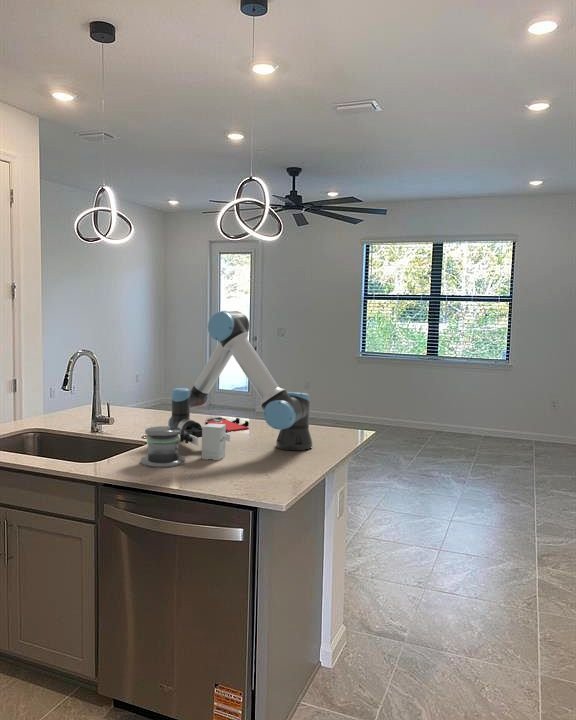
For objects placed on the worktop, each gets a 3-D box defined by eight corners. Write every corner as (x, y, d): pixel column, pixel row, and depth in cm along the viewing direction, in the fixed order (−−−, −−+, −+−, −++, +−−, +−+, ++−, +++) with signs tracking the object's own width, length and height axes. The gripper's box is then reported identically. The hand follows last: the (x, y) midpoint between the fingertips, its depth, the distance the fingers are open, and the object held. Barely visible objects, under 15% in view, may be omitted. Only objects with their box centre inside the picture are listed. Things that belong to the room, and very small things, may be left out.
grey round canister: (193, 460, 219) (194, 429, 218) (164, 470, 205) (164, 436, 204) (161, 454, 227) (162, 423, 226) (131, 463, 214) (131, 430, 213)
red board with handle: (223, 418, 304) (197, 421, 295) (223, 413, 304) (197, 416, 295) (255, 429, 281) (228, 433, 272) (255, 423, 280) (228, 427, 271)
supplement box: (219, 460, 220) (220, 427, 219) (201, 459, 222) (201, 426, 221) (225, 456, 227) (226, 424, 226) (207, 454, 229) (208, 422, 228)
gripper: (217, 435, 248) (241, 445, 231) (161, 441, 234) (182, 453, 217) (217, 417, 248) (242, 426, 230) (161, 423, 234) (183, 433, 216)
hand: (213, 439), depth 223 cm, fingers open, 13 cm apart
